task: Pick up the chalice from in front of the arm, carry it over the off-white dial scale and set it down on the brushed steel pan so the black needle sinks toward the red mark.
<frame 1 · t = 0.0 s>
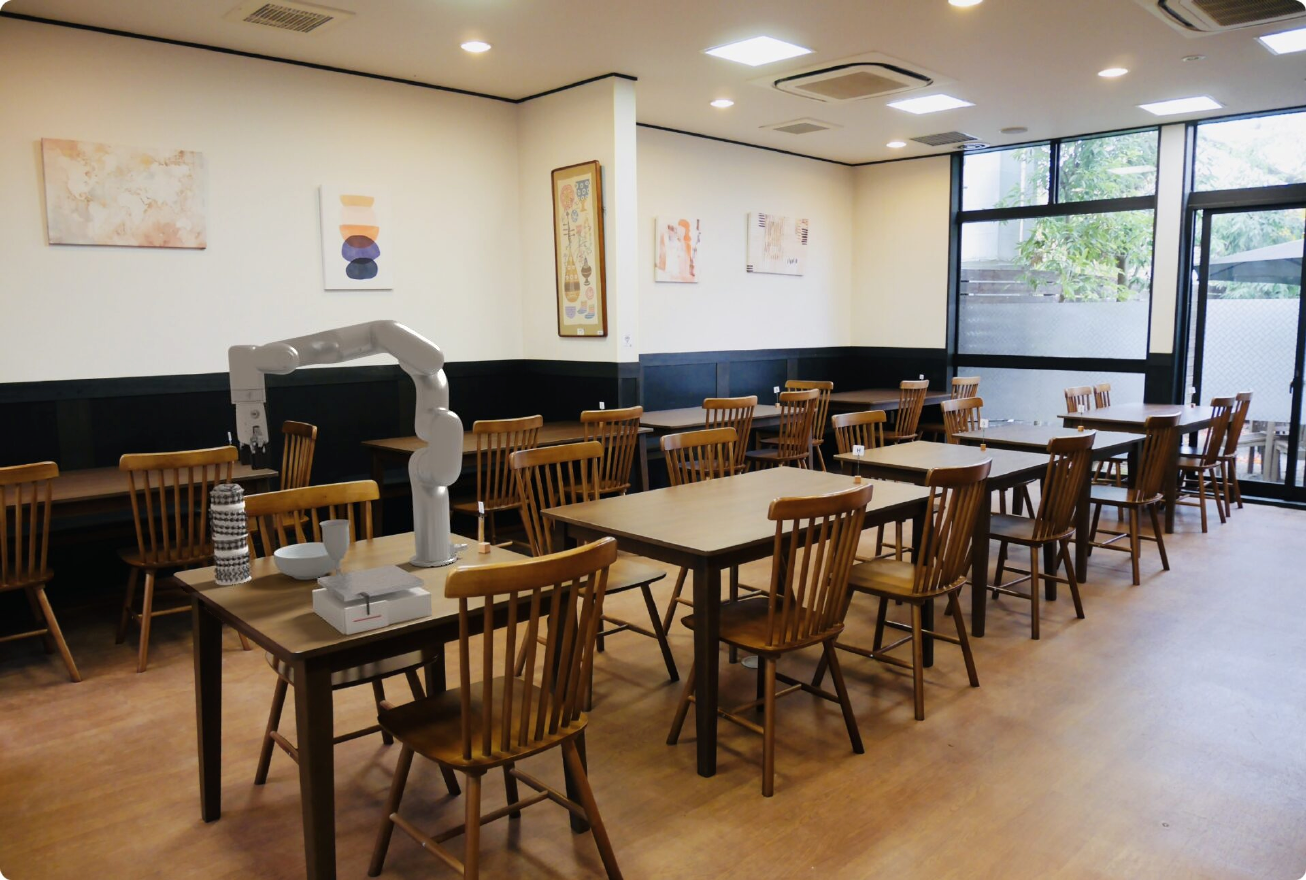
hand: (253, 467, 224), 31 cm above the table, tool pointing down, fingers open, 9 cm apart
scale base: (372, 613, 210), on the table
cereal bowl: (310, 576, 243), on the table
decorative candle: (233, 581, 239), on the table
chalice: (339, 595, 225), on the table
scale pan: (373, 593, 208), point 5 cm above the table, slide at 0.0 cm
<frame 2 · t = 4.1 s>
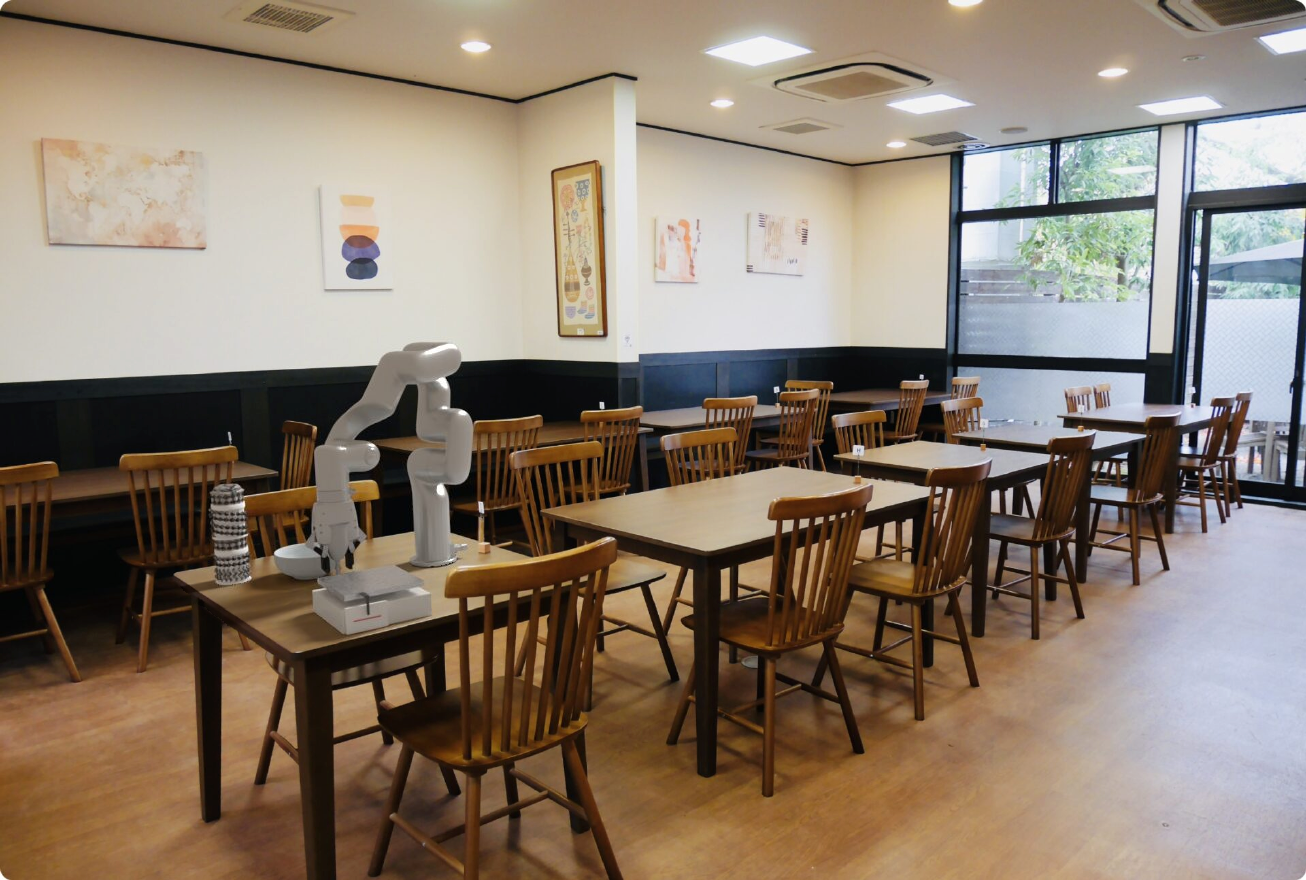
hand: (338, 569, 224), 6 cm above the table, tool pointing down, fingers closed on chalice, 4 cm apart
chalice: (339, 595, 225), on the table, touching gripper
everything else where it was.
when the fingers open (16 cm above the table, at t = 10.2 s): chalice drops 2 cm, resting on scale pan.
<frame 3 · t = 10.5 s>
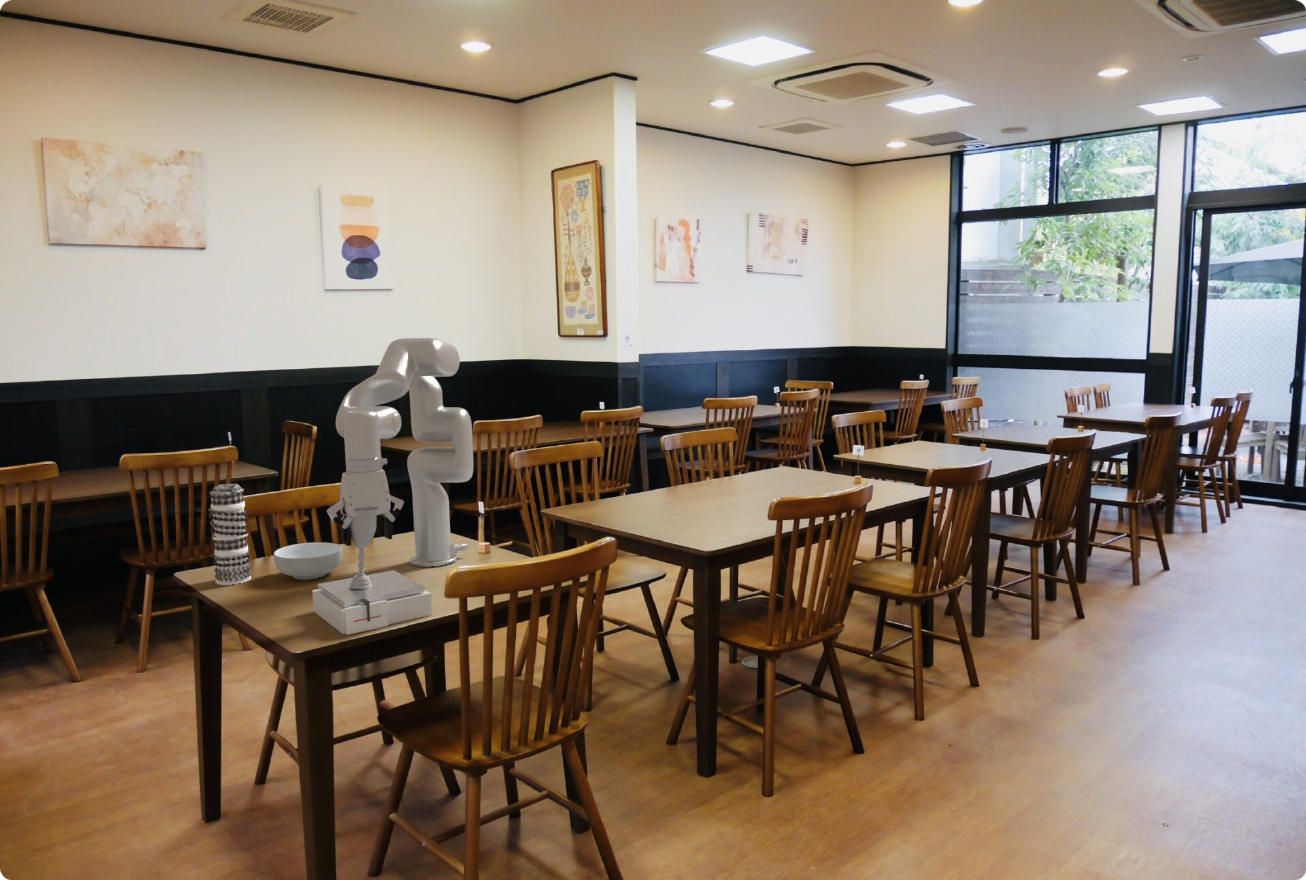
hand: (368, 541, 208), 17 cm above the table, tool pointing down, fingers open, 9 cm apart
chalice: (360, 586, 208), point 7 cm above the table, touching gripper, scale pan
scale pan: (373, 599, 208), point 4 cm above the table, slide at 1.4 cm, touching chalice
everything else where it was.
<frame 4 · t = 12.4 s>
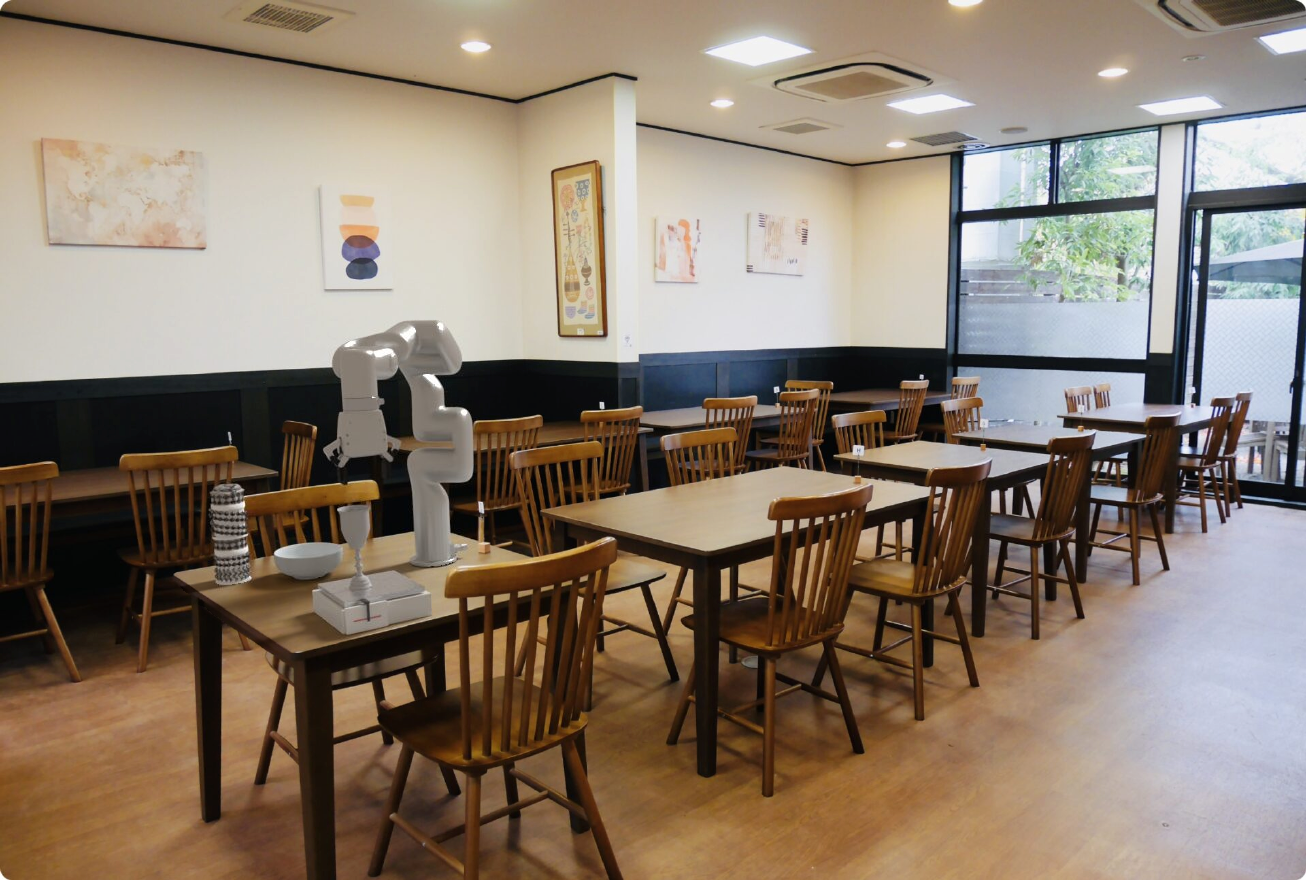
hand: (365, 481, 207), 30 cm above the table, tool pointing down, fingers open, 9 cm apart
chalice: (360, 587, 208), point 6 cm above the table, touching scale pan
everything else where it was.
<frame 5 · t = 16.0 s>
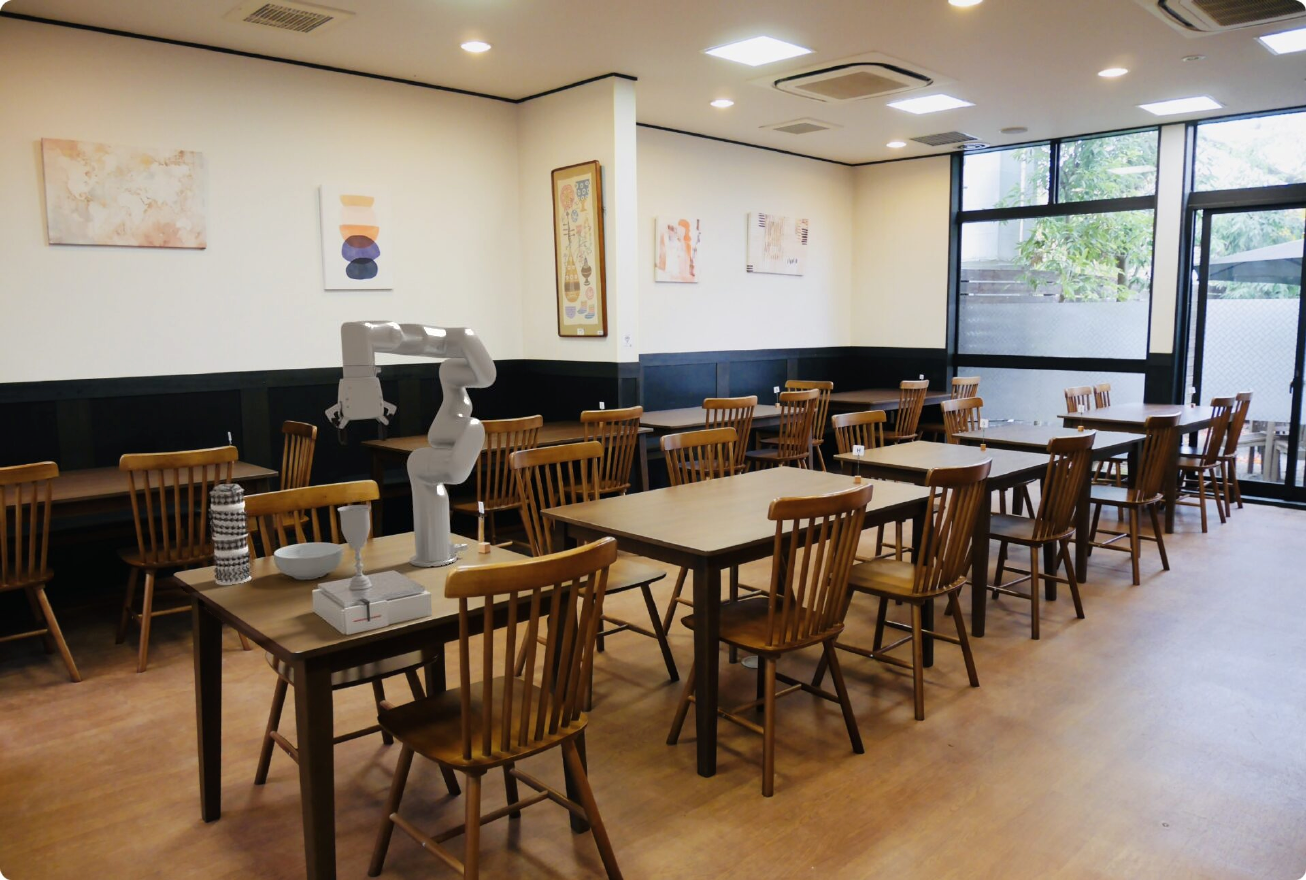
hand: (363, 442, 228), 36 cm above the table, tool pointing down, fingers open, 9 cm apart
nothing on the table moved.
at the end: chalice inside the target area on the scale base (2.2 cm from its centre), point 6.3 cm above the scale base's base; chalice tilted 0°; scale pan slide at 1.4 cm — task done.
